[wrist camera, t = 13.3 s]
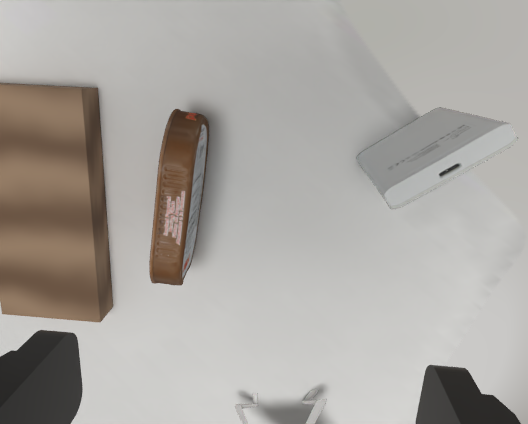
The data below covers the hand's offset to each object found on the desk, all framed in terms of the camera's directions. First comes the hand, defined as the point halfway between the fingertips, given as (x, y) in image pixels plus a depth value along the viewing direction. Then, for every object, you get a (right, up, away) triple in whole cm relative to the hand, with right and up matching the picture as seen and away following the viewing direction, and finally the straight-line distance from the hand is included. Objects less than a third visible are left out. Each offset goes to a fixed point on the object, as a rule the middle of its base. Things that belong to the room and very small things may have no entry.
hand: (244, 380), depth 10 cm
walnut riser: (-20, +5, +32) cm, 38 cm away
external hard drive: (+12, +10, +28) cm, 32 cm away
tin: (-6, +6, +31) cm, 32 cm away
